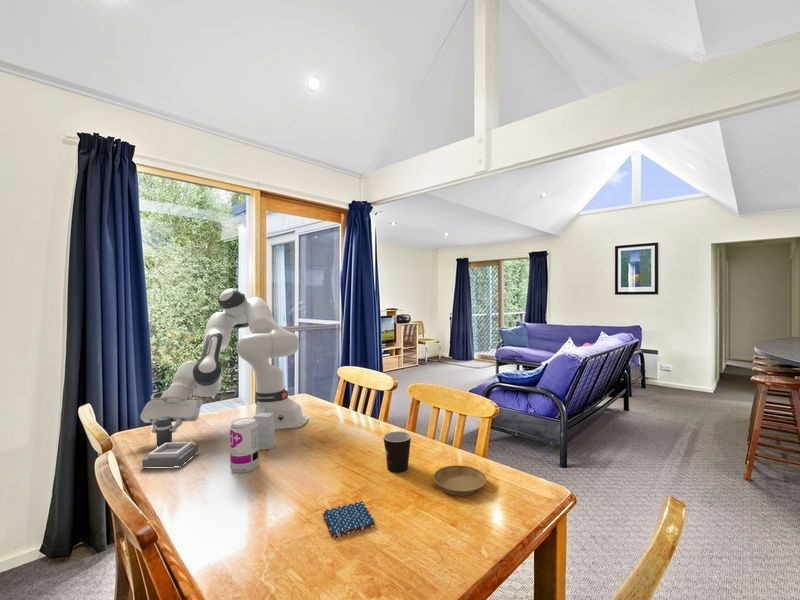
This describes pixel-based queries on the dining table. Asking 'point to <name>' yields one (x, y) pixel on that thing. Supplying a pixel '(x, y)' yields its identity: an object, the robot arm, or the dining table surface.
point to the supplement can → (244, 445)
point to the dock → (170, 454)
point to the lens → (163, 430)
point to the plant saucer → (459, 480)
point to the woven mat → (348, 519)
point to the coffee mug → (397, 451)
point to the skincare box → (265, 430)
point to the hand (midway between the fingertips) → (163, 432)
